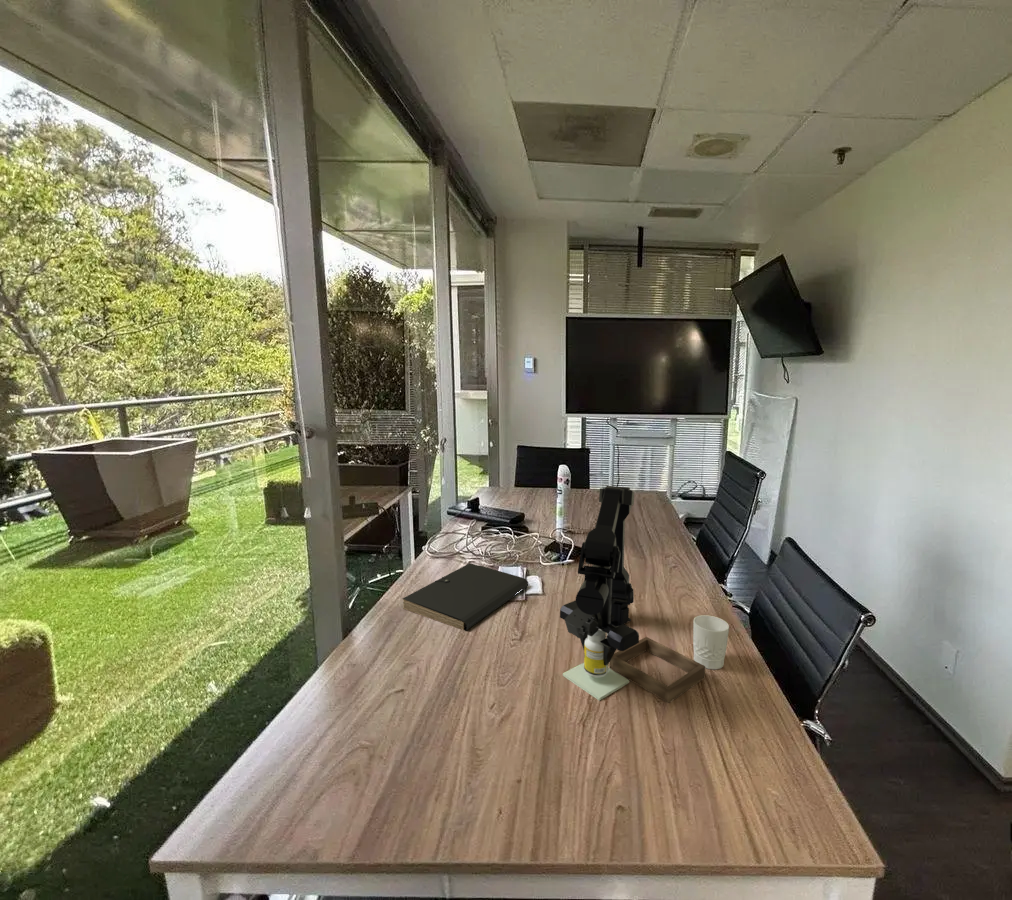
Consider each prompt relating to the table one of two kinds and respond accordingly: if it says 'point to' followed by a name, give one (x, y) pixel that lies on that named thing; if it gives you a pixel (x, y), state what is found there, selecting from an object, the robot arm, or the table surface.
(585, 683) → the sage tile
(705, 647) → the white cup
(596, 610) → the robot arm
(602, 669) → the supplement bottle
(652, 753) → the table surface
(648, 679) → the wooden frame
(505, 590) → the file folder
